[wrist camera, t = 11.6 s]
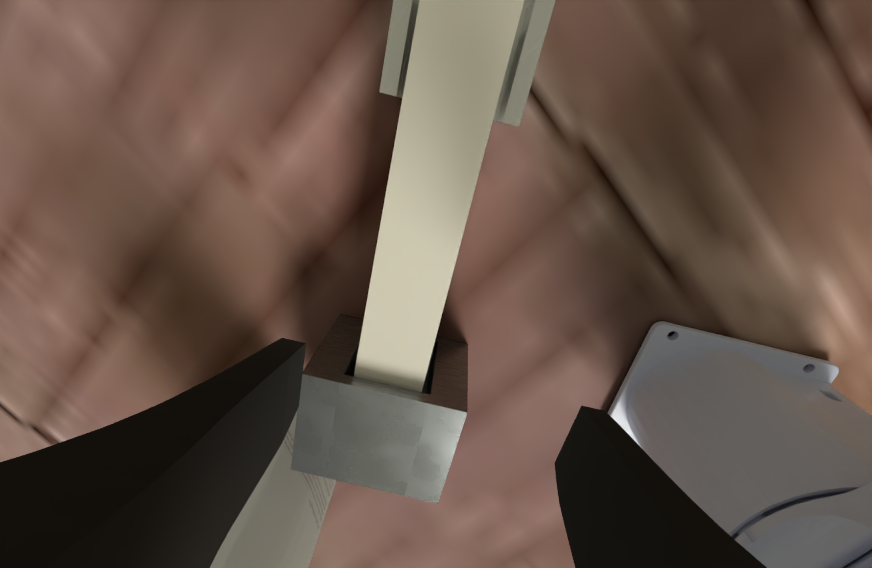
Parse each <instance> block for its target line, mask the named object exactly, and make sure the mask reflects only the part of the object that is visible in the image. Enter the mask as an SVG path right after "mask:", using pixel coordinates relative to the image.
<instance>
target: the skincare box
mask: <svg viewBox="0 0 872 568" xmlns="http://www.w3.org/2000/svg"><path fill="white" fill-rule="evenodd" d="M296 418H297V412H296V414H295V416H294V419H293V421H292V423H291V425H290V428H289V430H288V432H287V434H286V436H285V438H284V440H283V443H282V444H281V446H280V448H279V449H278V451H277V453H276V454H275V456H274V458H273V459H272V461H271V463H270V464H269V466H268V468H267V469H266V471H265V473H264V474H263V476H262V478H261V479H260V481H259V483H258V484H257V486H256V488H255V489H254V491H253V493H252V494H251V496H250V497H249V499H248V501H247V502H246V504H245V506H244V507H243V509H242V511H241V512H240V514H239V516H238V517H237V519H236V521H235V522H234V524H233V525H232V527H231V529H230V531H229V532H228V534H227V536H226V538H225V540H224V541H223V543H222V545H221V547H220V549H219V550H218V552H217V554H216V556H215V558H214V560H213V562H212V564H211V566H210V568H308V567H309V564H310V561H311V558H312V555H313V552H314V549H315V546H316V542H317V539H318V536H319V533H320V530H321V527H322V524H323V521H324V518H325V514H326V511H327V508H328V505H329V502H330V499H331V496H332V493H333V490H334V486H335V484H336V480H334V479H329V478H325V477H321V476H316V475H312V474H308V473H303V472H299V471H295V470H291V463H292V454H293V445H294V436H295V427H296Z"/></svg>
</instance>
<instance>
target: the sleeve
mask: <svg viewBox="0 0 872 568" xmlns="http://www.w3.org/2000/svg"><path fill="white" fill-rule="evenodd" d="M419 1H420V0H393V6H392V13H391V19H390V26H389V32H388V39H387V45H386V52H385V58H384V65H383V71H382V78H381V84H380V91H379V92H380V93H384V94H388V95H391V96H395V97H399V98H403V92H404V86H405V81H406V75H407V69H408V64H409V58H410V52H411V47H412V41H413V35H414V29H415V24H416V18H417V12H418V7H419ZM554 4H555V0H524V4H523V7H522V11H521V15H520V19H519V23H518V27H517V30H516V34H515V38H514V42H513V46H512V49H511V53H510V57H509V61H508V65H507V68H506V72H505V76H504V80H503V84H502V88H501V91H500V95H499V99H498V103H497V107H496V110H495V114H494V118H493V121H496V122H500V123H504V124H508V125H513V126H518V127H519V125H520V122H521V118H522V115H523V111H524V108H525V104H526V101H527V97H528V94H529V90H530V87H531V84H532V80H533V77H534V73H535V70H536V66H537V63H538V59H539V56H540V52H541V49H542V45H543V42H544V38H545V35H546V32H547V28H548V25H549V21H550V18H551V14H552V11H553V7H554Z"/></svg>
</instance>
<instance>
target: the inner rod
mask: <svg viewBox="0 0 872 568" xmlns="http://www.w3.org/2000/svg"><path fill="white" fill-rule="evenodd" d="M523 4H524V0H420V1H419V7H418V12H417V18H416V24H415V29H414V35H413V41H412V47H411V52H410V58H409V64H408V69H407V75H406V81H405V86H404V92H403V98H402V104H401V109H400V115H399V121H398V126H397V132H396V138H395V144H394V149H393V155H392V161H391V166H390V172H389V178H388V184H387V189H386V195H385V201H384V206H383V212H382V218H381V223H380V229H379V235H378V241H377V246H376V252H375V258H374V263H373V269H372V275H371V281H370V286H369V292H368V298H367V303H366V309H365V315H364V320H363V326H362V332H361V338H360V343H359V349H358V355H357V360H356V366H355V372H354V377H358V378H362V379H367V380H371V381H375V382H379V383H384V384H388V385H392V386H396V387H401V388H405V389H409V390H413V391H418V392H422V389H423V385H424V381H425V377H426V373H427V370H428V366H429V362H430V358H431V354H432V351H433V347H434V343H435V339H436V335H437V331H438V328H439V324H440V320H441V316H442V312H443V309H444V305H445V301H446V297H447V293H448V290H449V286H450V282H451V278H452V274H453V270H454V267H455V263H456V259H457V255H458V251H459V248H460V244H461V240H462V236H463V232H464V229H465V225H466V221H467V217H468V213H469V209H470V206H471V202H472V198H473V194H474V190H475V187H476V183H477V179H478V175H479V171H480V168H481V164H482V160H483V156H484V152H485V149H486V145H487V141H488V137H489V133H490V129H491V126H492V122H493V118H494V114H495V110H496V107H497V103H498V99H499V95H500V91H501V88H502V84H503V80H504V76H505V72H506V68H507V65H508V61H509V57H510V53H511V49H512V46H513V42H514V38H515V34H516V30H517V27H518V23H519V19H520V15H521V11H522V7H523Z"/></svg>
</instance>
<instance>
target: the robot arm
mask: <svg viewBox="0 0 872 568" xmlns="http://www.w3.org/2000/svg"><path fill="white" fill-rule="evenodd" d="M672 331H675V333H674V334H673V335H672V336H668V334H669V333H670V332H672ZM305 346H306V343H302V342H298V341H293V340H289V339H285V338H281V339H279V340H277V341H276V342H274V343H272V344H270V345H269V346H267V347H265V348H263V349H262V350H260V351H258V352H257V353H255V354H253V355H251V356H250V357H248V358H246V359H245V360H243V361H241V362H239V363H238V364H236V365H234V366H232V367H231V368H229V369H227V370H225V371H223V372H222V373H220V374H218V375H216V376H214V377H213V378H211V379H209V380H207V381H205V382H203V383H201V384H199V385H197V386H195V387H193V388H191V389H189V390H187V391H185V392H183V393H181V394H179V395H177V396H175V397H173V398H171V399H169V400H167V401H165V402H162V403H160V404H158V405H156V406H154V407H151V408H149V409H147V410H145V411H142V412H140V413H138V414H135V415H133V416H130V417H128V418H125V419H123V420H121V421H118V422H116V423H113V424H111V425H108V426H106V427H103V428H100V429H98V430H95V431H92V432H89V433H86V434H84V435H81V436H78V437H75V438H72V439H69V440H67V441H64V442H61V443H58V444H55V445H52V446H50V447H47V448H44V449H41V450H38V451H35V452H32V453H29V454H26V455H23V456H20V457H16V458H13V459H10V460H7V461H3V462H0V568H210V566H211V564H212V562H213V560H214V558H215V556H216V554H217V552H218V550H219V549H220V547H221V545H222V543H223V541H224V540H225V538H226V536H227V534H228V532H229V531H230V529H231V527H232V525H233V524H234V522H235V521H236V519H237V517H238V516H239V514H240V512H241V511H242V509H243V507H244V506H245V504H246V502H247V501H248V499H249V497H250V496H251V494H252V493H253V491H254V489H255V488H256V486H257V484H258V483H259V481H260V479H261V478H262V476H263V474H264V473H265V471H266V469H267V468H268V466H269V464H270V463H271V461H272V459H273V458H274V456H275V454H276V453H277V451H278V449H279V448H280V446H281V444H282V443H283V440H284V438H285V436H286V434H287V432H288V430H289V428H290V425H291V423H292V421H293V419H294V416H295V414H296V412H297V410H298V407H299V400H300V391H301V382H302V373H303V364H304V355H305ZM806 365H808V366H807V367H805V366H806ZM804 367H805V368H804ZM838 372H839V368H838V367H837V366H836V365H835V364H833V363H832V362H830V361H827V360H822V359H818V358H814V357H810V356H806V355H802V354H798V353H793V352H789V351H785V350H781V349H777V348H773V347H768V346H764V345H760V344H756V343H752V342H748V341H743V340H739V339H735V338H731V337H727V336H723V335H718V334H714V333H710V332H706V331H702V330H698V329H694V328H689V327H685V326H681V325H677V324H673V323H669V322H664V321H660V322H656V323H655V324H653V325H652V326H651V328H650V330H649V332H648V334H647V336H646V338H645V340H644V342H643V344H642V346H641V348H640V350H639V351H638V353H637V355H636V357H635V359H634V361H633V363H632V365H631V367H630V369H629V371H628V373H627V375H626V377H625V379H624V381H623V383H622V385H621V387H620V389H619V391H618V393H617V395H616V397H615V399H614V401H613V403H612V405H611V407H610V409H609V411H608V413H606V412H605V411H603V410H599V409H594V408H590V407H585V406H581V408H580V410H579V412H578V415H577V417H576V419H575V421H574V423H573V425H572V427H571V429H570V432H569V434H568V436H567V438H566V440H565V442H564V444H563V446H562V449H561V451H560V453H559V455H558V457H557V459H556V461H555V471H556V481H557V489H558V496H559V503H560V508H561V512H562V516H563V520H564V524H565V528H566V532H567V537H568V540H569V544H570V548H571V552H572V556H573V560H574V564H575V568H872V416H871V415H870V414H869V413H867V412H866V411H865V410H863V409H862V408H861V407H859V406H858V405H857V404H855V403H854V402H853V401H851V400H850V399H849V398H847V397H846V396H845V395H843V394H842V393H840V392H839V391H838V390H836V389H835V388H834V387H832V386H831V385H830V384H831V383H832V381H833V380H834V379H835V377H836V376H837V374H838Z"/></svg>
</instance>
